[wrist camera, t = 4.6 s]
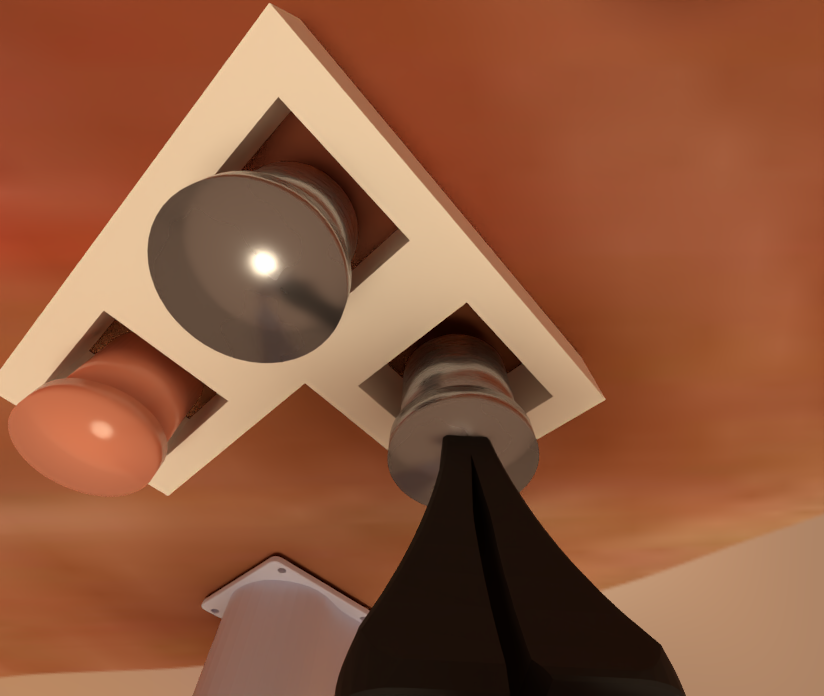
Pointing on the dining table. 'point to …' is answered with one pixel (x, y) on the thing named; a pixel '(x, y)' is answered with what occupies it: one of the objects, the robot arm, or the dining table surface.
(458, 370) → the metal plug
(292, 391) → the socket block
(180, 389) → the terracotta plug
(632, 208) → the dining table surface
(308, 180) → the metal plug
